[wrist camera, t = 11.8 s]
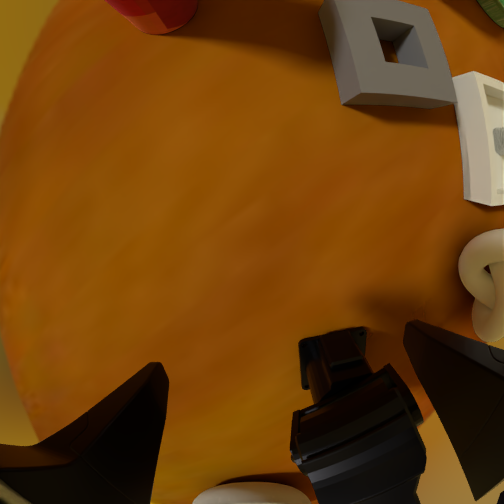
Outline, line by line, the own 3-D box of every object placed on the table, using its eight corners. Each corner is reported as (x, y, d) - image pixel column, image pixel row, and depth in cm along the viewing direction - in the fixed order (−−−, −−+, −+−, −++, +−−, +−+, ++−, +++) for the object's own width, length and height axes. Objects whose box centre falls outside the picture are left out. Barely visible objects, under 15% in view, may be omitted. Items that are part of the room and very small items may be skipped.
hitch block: (430, 109, 18) (457, 102, 14) (341, 104, 18) (361, 92, 14) (406, 24, 15) (427, 9, 11) (318, 12, 15) (329, -11, 11)
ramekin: (512, 23, 11) (529, 18, 7) (503, 39, 13) (523, 34, 9) (475, -23, 10) (490, -32, 5) (460, -13, 11) (478, -24, 7)
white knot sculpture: (480, 322, 25) (520, 359, 16) (425, 309, 23) (475, 357, 15) (513, 241, 21) (562, 264, 13) (465, 205, 20) (531, 226, 12)
